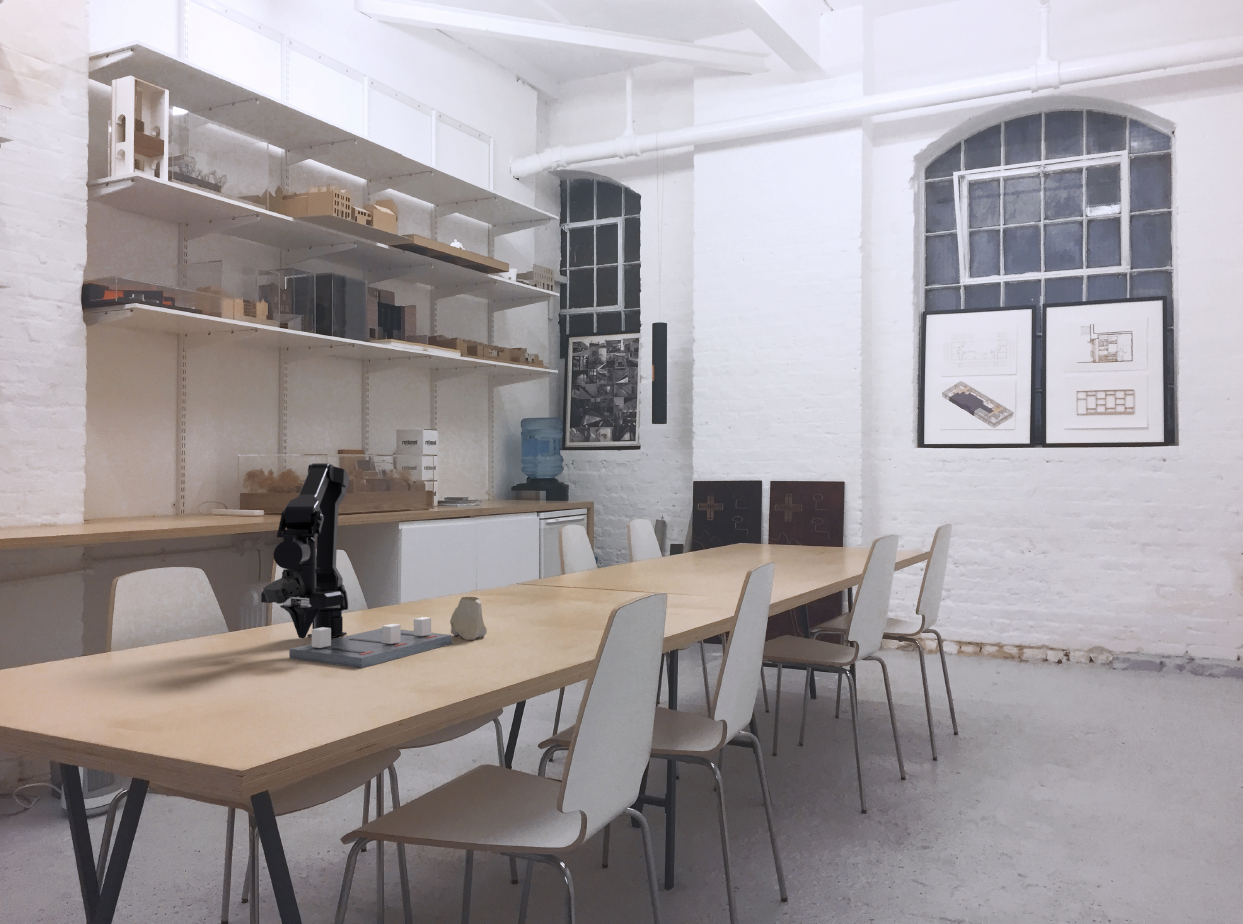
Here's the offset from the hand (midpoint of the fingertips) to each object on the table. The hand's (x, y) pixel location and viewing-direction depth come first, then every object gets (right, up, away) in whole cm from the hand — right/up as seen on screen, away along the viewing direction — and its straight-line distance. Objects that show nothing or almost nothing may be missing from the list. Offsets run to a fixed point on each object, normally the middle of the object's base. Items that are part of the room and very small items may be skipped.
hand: (302, 637), depth 195 cm
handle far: (+23, -1, +10) cm, 25 cm away
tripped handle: (+5, -1, -3) cm, 6 cm away
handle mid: (+18, -1, +1) cm, 19 cm away
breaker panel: (+14, -4, +4) cm, 15 cm away
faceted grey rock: (+32, -4, +19) cm, 37 cm away
